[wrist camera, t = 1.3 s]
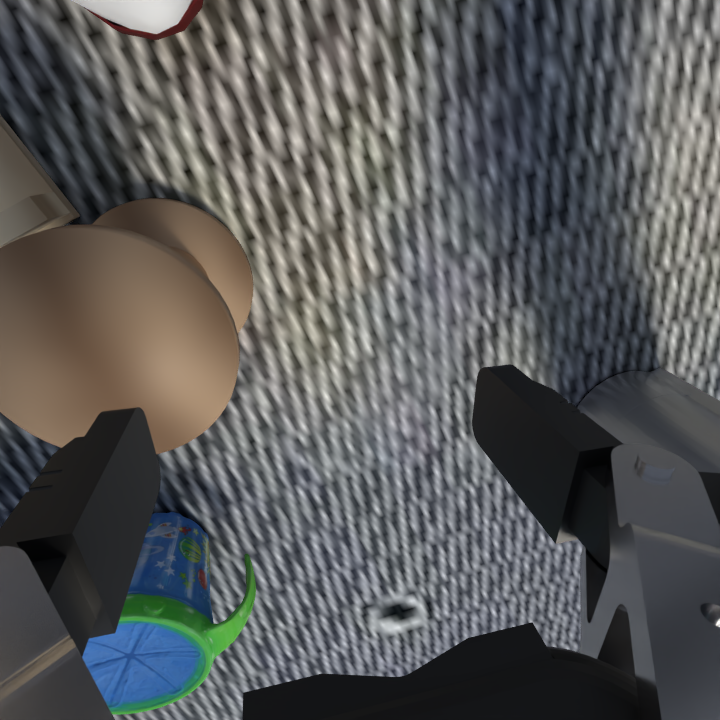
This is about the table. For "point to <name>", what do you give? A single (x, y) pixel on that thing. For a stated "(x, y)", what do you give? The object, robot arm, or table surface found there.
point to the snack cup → (165, 622)
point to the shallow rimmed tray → (27, 192)
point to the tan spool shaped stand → (123, 322)
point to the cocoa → (145, 15)
